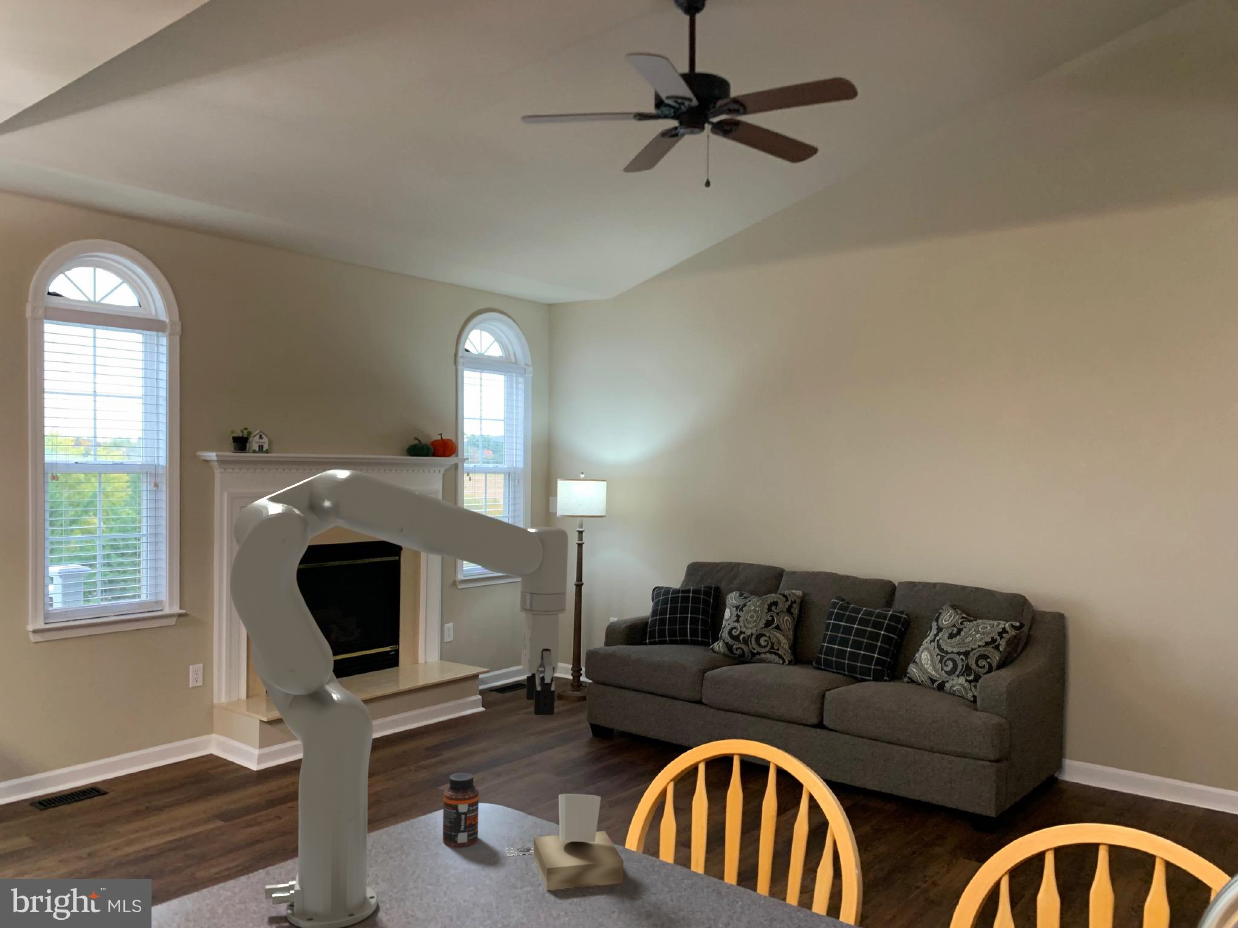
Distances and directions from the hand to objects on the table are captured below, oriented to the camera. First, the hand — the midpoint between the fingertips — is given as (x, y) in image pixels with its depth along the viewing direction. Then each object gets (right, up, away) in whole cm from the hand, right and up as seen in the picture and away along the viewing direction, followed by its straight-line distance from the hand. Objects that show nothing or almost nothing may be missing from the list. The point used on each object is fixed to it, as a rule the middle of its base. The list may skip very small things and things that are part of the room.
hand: (539, 706), depth 155 cm
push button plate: (-3, -25, +3) cm, 25 cm away
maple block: (+6, -26, -4) cm, 27 cm away
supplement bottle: (-14, -25, +6) cm, 29 cm away
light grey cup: (+6, -21, -4) cm, 22 cm away
